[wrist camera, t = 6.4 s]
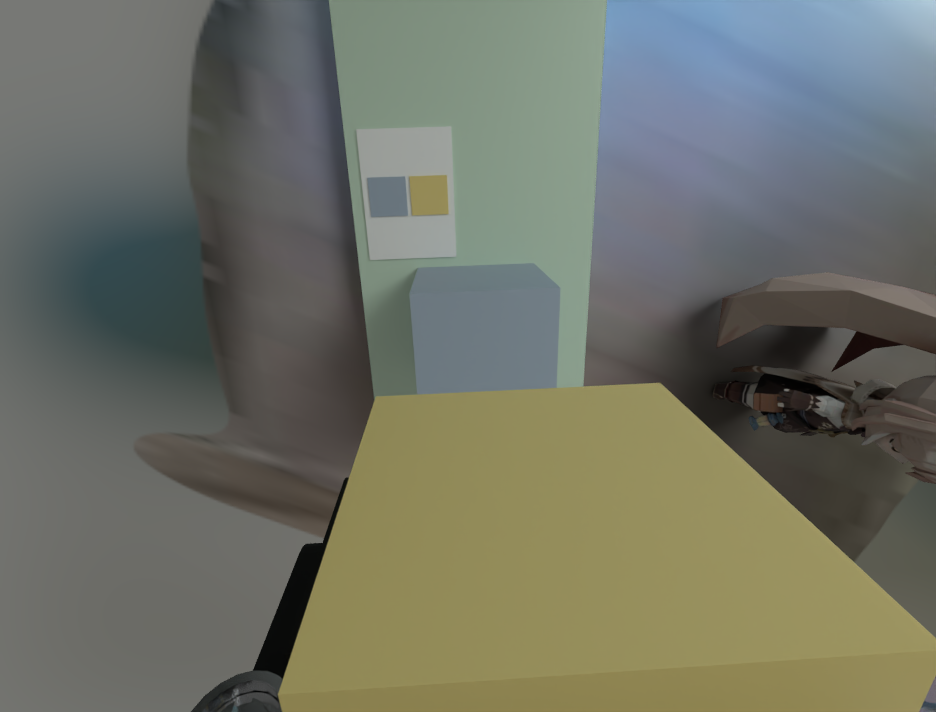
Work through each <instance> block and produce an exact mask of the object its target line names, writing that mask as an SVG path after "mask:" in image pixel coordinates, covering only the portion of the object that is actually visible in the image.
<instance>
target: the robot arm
mask: <svg viewBox="0 0 936 712" xmlns="http://www.w3.org/2000/svg"><path fill="white" fill-rule="evenodd" d="M348 480H349V478H345V480H344V482H343V485H342V488H341V491H340V494H339V497H338V500H337V502H336V505H335V508H334V511H333V514H332V517H331V520H330V523H329V526H328V529H327V532H326V535H325V538H324V540H323V543H314V544H305V545H304V546H303V547H302V549H301V551H300V553H299V556H298V558H297V561H296V563H295V566H294V568H293V571H292V573H291V576H290V578H289V581H288V583H287V586H286V588H285V591H284V593H283V596H282V599H281V601H280V604H279V606H278V609H277V611H276V614H275V616H274V619H273V621H272V624H271V626H270V629H269V631H268V634H267V637H266V640H265V641H264V644H263V647H262V649H261V652H260V654H259V657H258V659H257V662H256V664H255V667H254V669H253V671H250V672H245V673H242V674H238V675H235V676H234V677H232V678H230V679H228V680H226V681H224V682H222V683H220V684H219V685H218V686H216V687H215V688H214V689H213V690H212V691H210V692H209V693H208V694H206V695H205V696H204V697H203V698H202V699H201V701H200V702H199V703H198V704H197V705H196V706H195V708H194V709H193V710H192V711H191V712H282V709H281V705H280V701H279V697H278V693H279V690H280V687H281V684H282V681H283V678H284V675H285V671H286V668H287V665H288V662H289V659H290V656H291V653H292V650H293V647H294V644H295V641H296V638H297V635H298V632H299V629H300V626H301V623H302V620H303V617H304V614H305V611H306V608H307V605H308V601H309V598H310V595H311V592H312V589H313V586H314V583H315V580H316V577H317V574H318V571H319V568H320V565H321V562H322V559H323V556H324V553H325V550H326V547H327V544H328V541H329V538H330V535H331V531H332V528H333V525H334V522H335V519H336V516H337V513H338V510H339V507H340V504H341V501H342V498H343V495H344V492H345V489H346V486H347V483H348ZM919 712H936V676H935V678H934V681H933V683H932V685H931V687H930V689H929V691H928V694H927V696H926V698H925V700H924V702H923V704H922V706H921V709H920V711H919Z"/></svg>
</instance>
